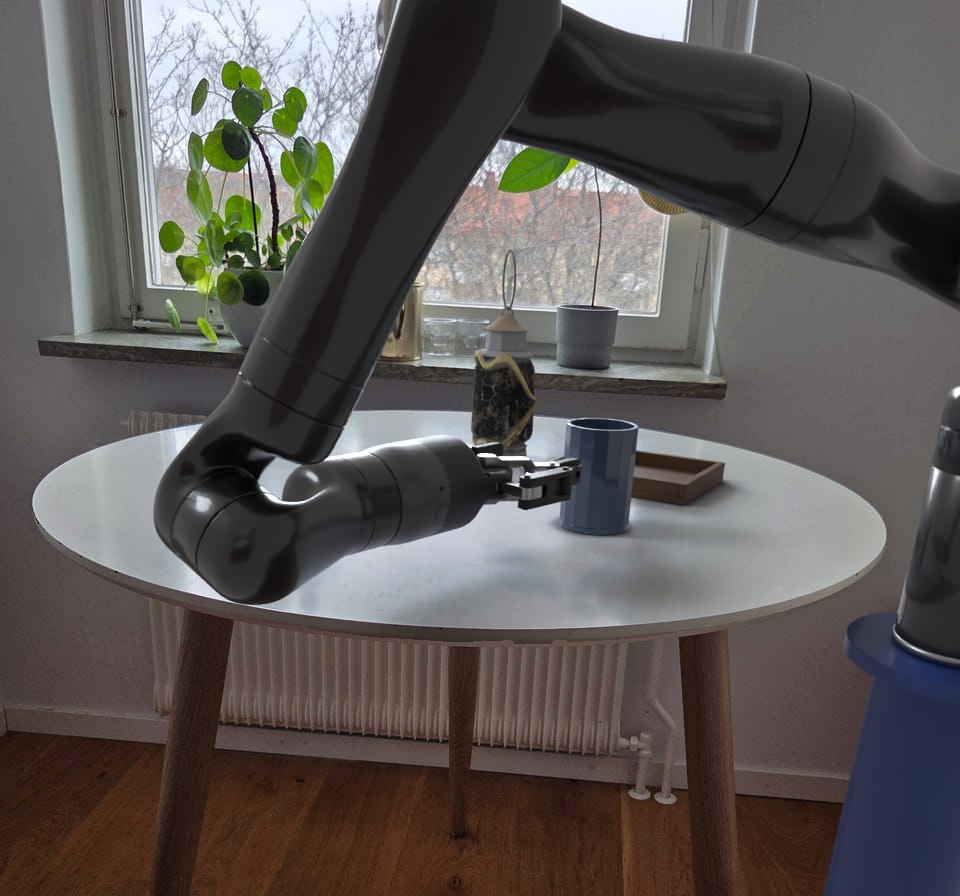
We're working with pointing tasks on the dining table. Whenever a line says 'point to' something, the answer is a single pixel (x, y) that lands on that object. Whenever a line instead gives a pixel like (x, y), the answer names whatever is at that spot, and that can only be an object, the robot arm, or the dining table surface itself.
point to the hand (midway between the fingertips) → (537, 461)
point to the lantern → (504, 384)
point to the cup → (600, 475)
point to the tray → (671, 476)
